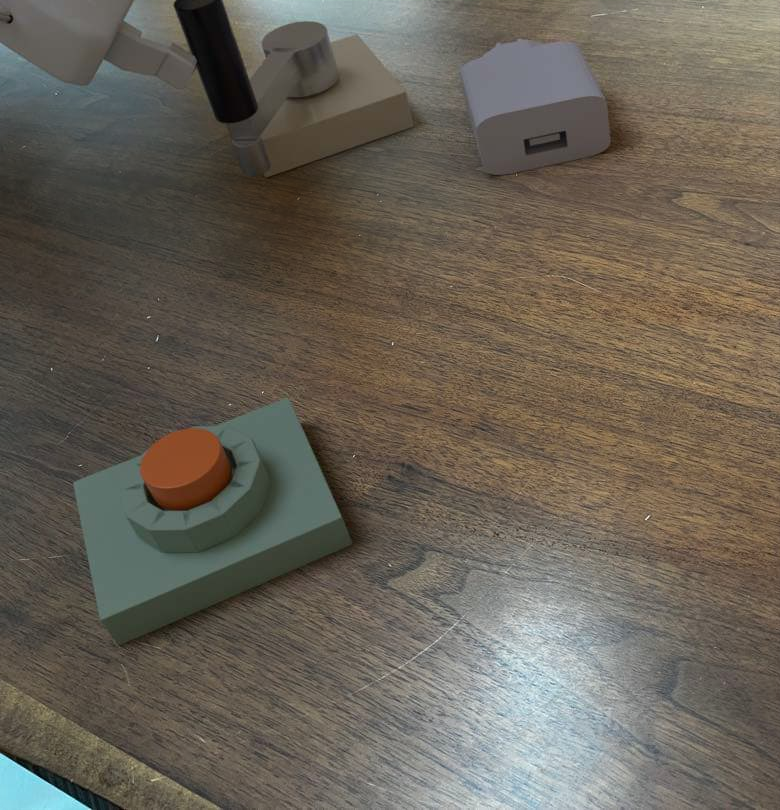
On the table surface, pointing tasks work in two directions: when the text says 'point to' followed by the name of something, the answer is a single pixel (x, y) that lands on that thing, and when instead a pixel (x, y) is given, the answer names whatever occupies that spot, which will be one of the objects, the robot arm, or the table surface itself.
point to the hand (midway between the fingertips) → (204, 41)
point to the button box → (208, 527)
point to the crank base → (337, 111)
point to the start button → (186, 469)
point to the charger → (534, 106)
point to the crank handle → (271, 83)
